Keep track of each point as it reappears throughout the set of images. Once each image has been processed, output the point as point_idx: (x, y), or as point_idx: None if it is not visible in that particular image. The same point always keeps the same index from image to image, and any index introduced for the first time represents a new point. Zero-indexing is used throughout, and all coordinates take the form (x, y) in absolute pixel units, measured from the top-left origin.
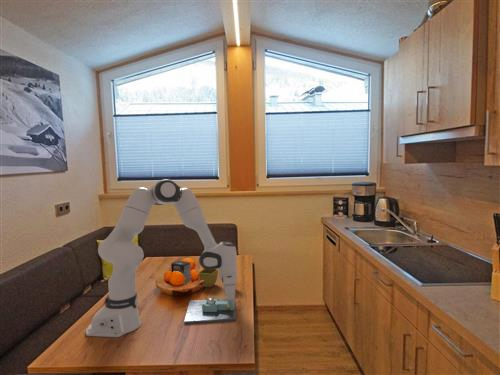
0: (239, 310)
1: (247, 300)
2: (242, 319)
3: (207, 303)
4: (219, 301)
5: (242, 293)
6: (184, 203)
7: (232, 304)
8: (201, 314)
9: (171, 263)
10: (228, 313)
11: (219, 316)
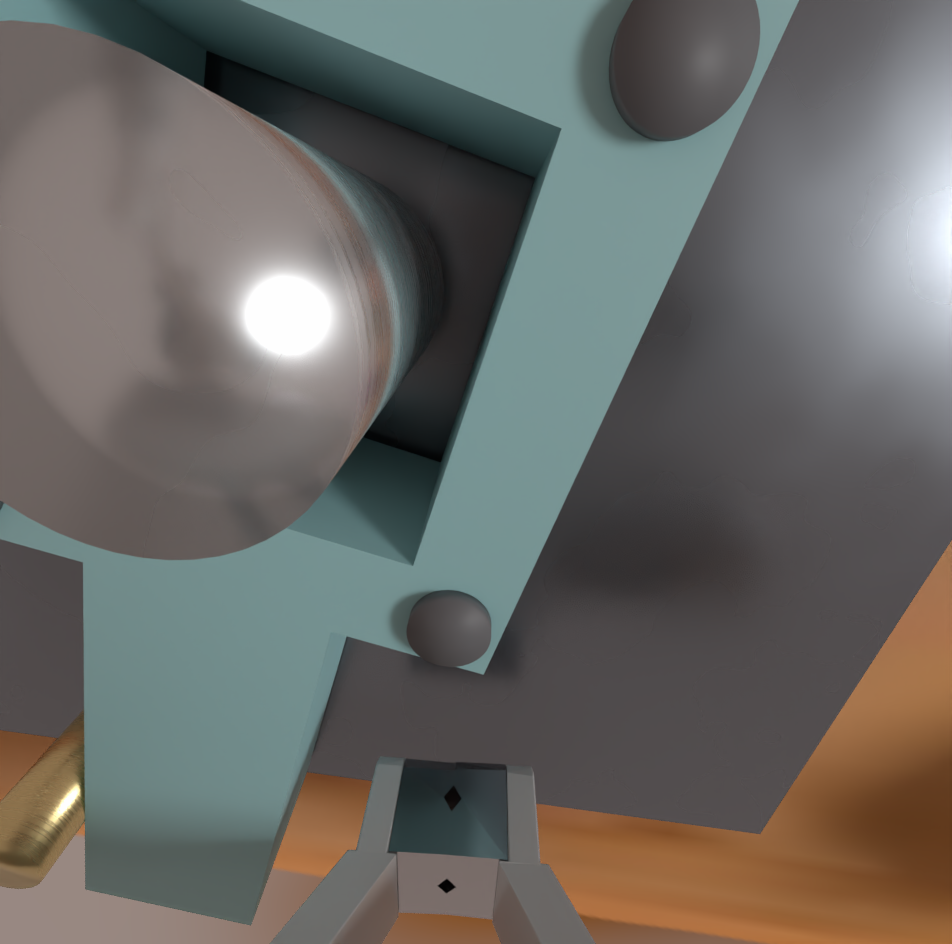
0: (317, 777)
1: (639, 909)
2: (6, 757)
3: (511, 143)
4: (315, 650)
5: (944, 910)
6: None
7: (86, 879)
8: None
9: None
10: (66, 646)
11: None
